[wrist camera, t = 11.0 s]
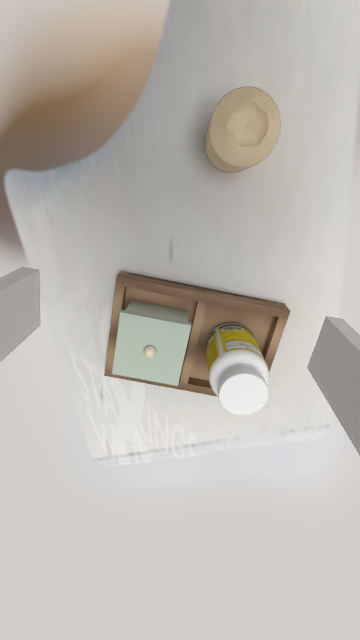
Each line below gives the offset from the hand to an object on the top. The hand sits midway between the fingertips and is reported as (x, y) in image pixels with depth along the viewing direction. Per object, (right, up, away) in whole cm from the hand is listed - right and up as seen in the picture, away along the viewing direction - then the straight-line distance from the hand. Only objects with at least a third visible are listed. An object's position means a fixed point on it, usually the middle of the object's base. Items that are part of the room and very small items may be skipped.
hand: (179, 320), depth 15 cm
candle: (+5, +18, +18) cm, 27 cm away
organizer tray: (+2, -2, +26) cm, 26 cm away
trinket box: (-3, -1, +25) cm, 26 cm away
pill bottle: (+6, -3, +26) cm, 27 cm away
